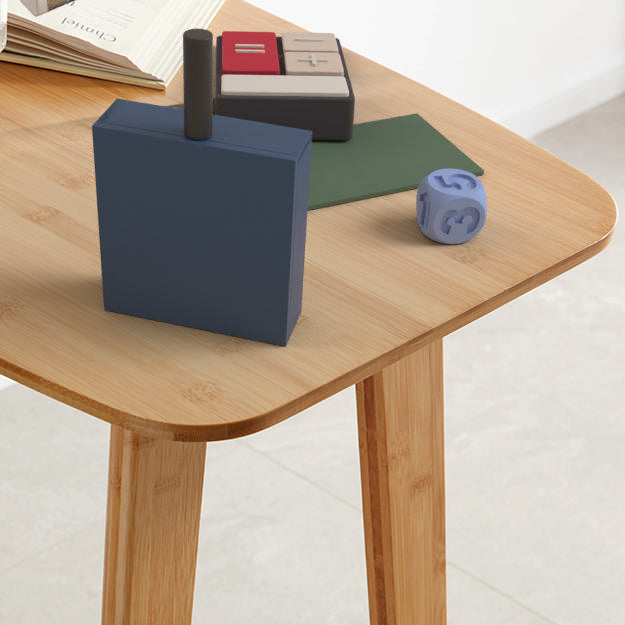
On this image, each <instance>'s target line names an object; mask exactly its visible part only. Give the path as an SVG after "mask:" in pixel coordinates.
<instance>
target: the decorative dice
mask: <svg viewBox="0 0 625 625" xmlns="http://www.w3.org/2000/svg"><path fill="white" fill-rule="evenodd" d="M416 190H417V191H416V196H415V208H416V209H415V210H416V218H417V223H418V227H419V229H420V231H421V233H422V234H423V235H425V237H426V238H428V239H430V240H431V241H433V242H436V243H438V244H439V243H440V244H445V245H459V244H464V243H466V242H468V241H470V240H472V239H474V238H475V237H476V236H478V234H480V233H481V231H482V230H483V228H484V227H485V225H486V220H487V216H488V215H487V214H488V213H487V212H488V210H487V209H488V201H487V194H486V190H485V185H484V184H483V182H482V180H481V179H480V178H479V176H475V175H473V174H472V173H469V172H467V171H464V170H459V169H440V170H436V171H434V172H432V173H430V174H429V175H428V176H426V177H425V178H424V179H423V180H422V181H421V183H420V184H419V186H418V188H417V189H416Z"/></svg>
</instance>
